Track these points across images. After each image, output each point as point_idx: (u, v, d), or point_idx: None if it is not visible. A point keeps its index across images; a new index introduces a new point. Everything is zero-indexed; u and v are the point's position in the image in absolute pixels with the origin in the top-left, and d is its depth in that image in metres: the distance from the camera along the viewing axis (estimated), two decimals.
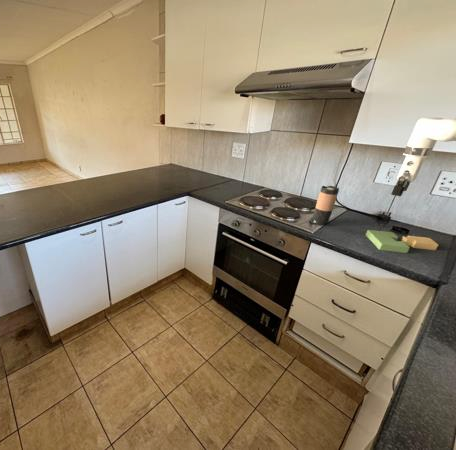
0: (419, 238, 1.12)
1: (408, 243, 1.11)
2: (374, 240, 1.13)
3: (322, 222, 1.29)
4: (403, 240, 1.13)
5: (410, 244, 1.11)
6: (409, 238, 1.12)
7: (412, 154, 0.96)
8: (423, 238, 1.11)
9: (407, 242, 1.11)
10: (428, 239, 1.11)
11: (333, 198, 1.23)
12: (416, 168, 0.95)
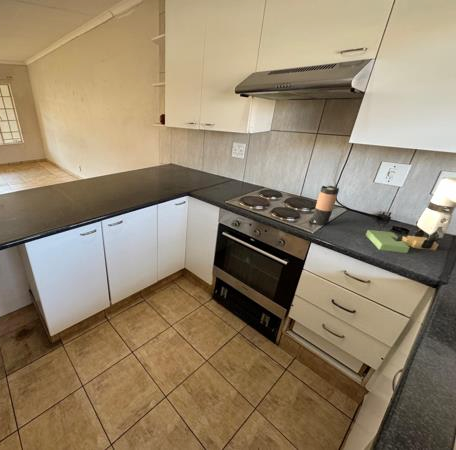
0: (419, 238, 1.12)
1: (408, 243, 1.11)
2: (374, 240, 1.13)
3: (322, 222, 1.29)
4: (403, 240, 1.13)
5: (410, 244, 1.11)
6: (409, 238, 1.12)
7: (444, 212, 1.01)
8: (423, 238, 1.11)
9: (407, 242, 1.11)
10: None
11: (333, 198, 1.23)
12: (448, 224, 1.01)
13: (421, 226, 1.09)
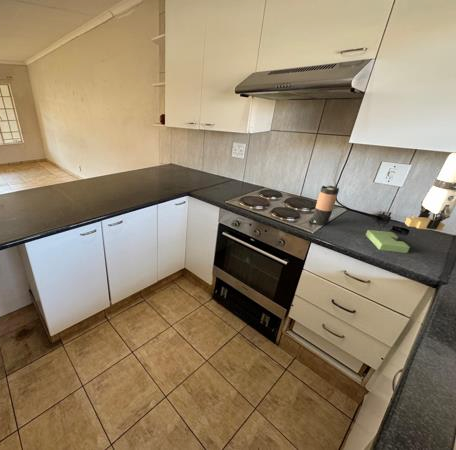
0: (424, 219, 1.06)
1: (413, 224, 1.06)
2: (374, 240, 1.13)
3: (322, 222, 1.29)
4: (407, 221, 1.07)
5: (415, 225, 1.06)
6: (414, 219, 1.06)
7: (451, 189, 0.95)
8: (428, 219, 1.06)
9: (412, 222, 1.06)
10: None
11: (333, 198, 1.23)
12: None
13: (426, 206, 1.04)
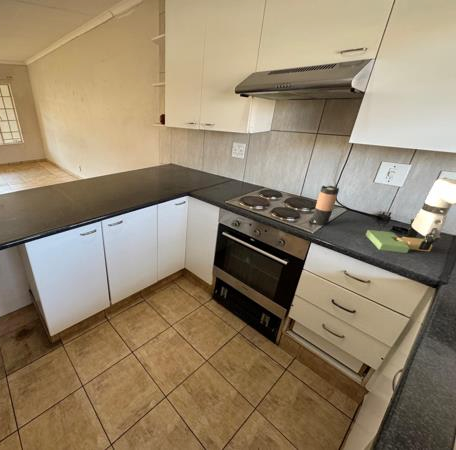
0: (413, 239, 1.11)
1: None
2: (374, 240, 1.13)
3: (322, 222, 1.29)
4: None
5: None
6: (403, 239, 1.11)
7: (438, 213, 1.00)
8: (417, 239, 1.11)
9: None
10: (422, 240, 1.10)
11: (333, 198, 1.23)
12: (443, 225, 1.00)
13: (415, 227, 1.08)
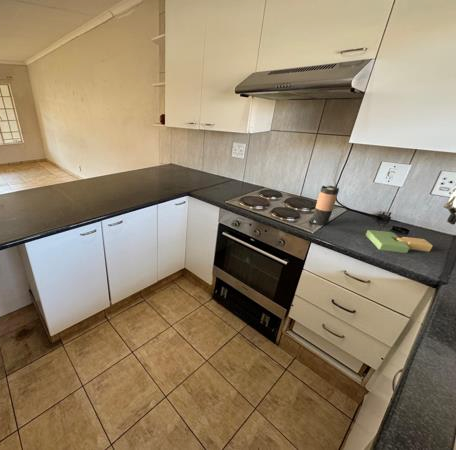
0: (413, 239, 1.11)
1: None
2: (374, 240, 1.13)
3: (322, 222, 1.29)
4: None
5: None
6: (403, 239, 1.11)
7: None
8: (417, 239, 1.11)
9: None
10: (422, 240, 1.10)
11: (333, 198, 1.23)
12: None
13: None
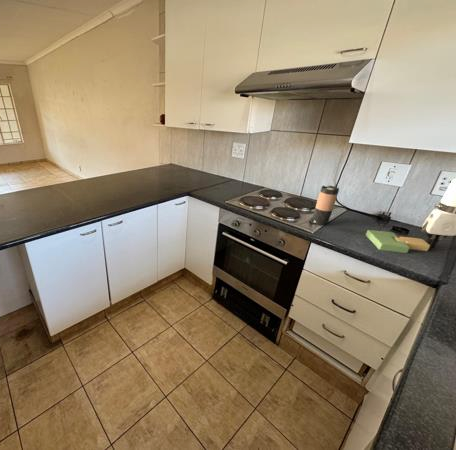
0: (411, 239, 1.11)
1: None
2: (374, 240, 1.13)
3: (322, 222, 1.29)
4: None
5: None
6: (401, 239, 1.11)
7: (437, 208, 1.03)
8: (415, 239, 1.11)
9: None
10: (420, 240, 1.10)
11: (333, 198, 1.23)
12: (433, 221, 1.03)
13: None
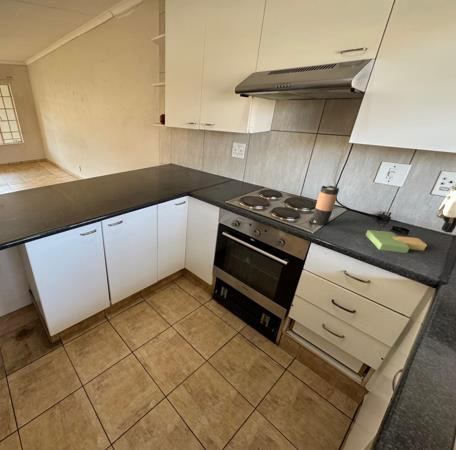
0: (408, 238, 1.11)
1: None
2: (374, 240, 1.13)
3: (322, 222, 1.29)
4: None
5: None
6: (398, 238, 1.12)
7: (454, 189, 0.98)
8: (412, 238, 1.11)
9: None
10: (417, 239, 1.10)
11: (333, 198, 1.23)
12: (451, 203, 0.98)
13: None
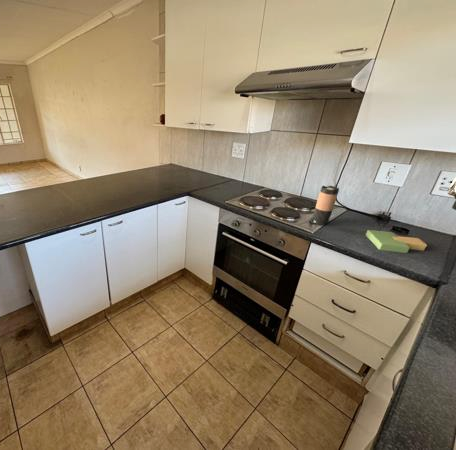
0: (408, 238, 1.11)
1: None
2: (374, 240, 1.13)
3: (322, 222, 1.29)
4: None
5: None
6: (398, 238, 1.12)
7: None
8: (412, 238, 1.11)
9: None
10: (417, 239, 1.10)
11: (333, 198, 1.23)
12: None
13: None
